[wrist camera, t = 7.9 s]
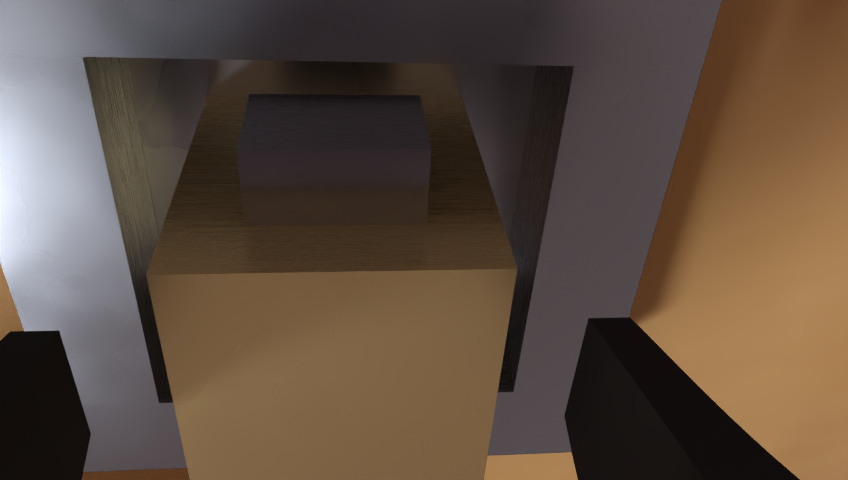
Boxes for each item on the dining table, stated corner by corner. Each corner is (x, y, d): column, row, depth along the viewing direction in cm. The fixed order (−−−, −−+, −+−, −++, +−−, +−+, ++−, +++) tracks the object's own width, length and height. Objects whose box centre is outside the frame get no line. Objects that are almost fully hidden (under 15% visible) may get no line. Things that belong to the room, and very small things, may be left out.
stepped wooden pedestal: (445, 290, 16) (481, 488, 12) (232, 295, 15) (194, 503, 11) (468, 37, 13) (530, 191, 9) (198, 31, 12) (128, 192, 8)
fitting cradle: (561, 367, 18) (591, 455, 16) (106, 380, 17) (72, 476, 15) (727, -341, 10) (830, -355, 8) (-112, -412, 9) (-254, -450, 7)
